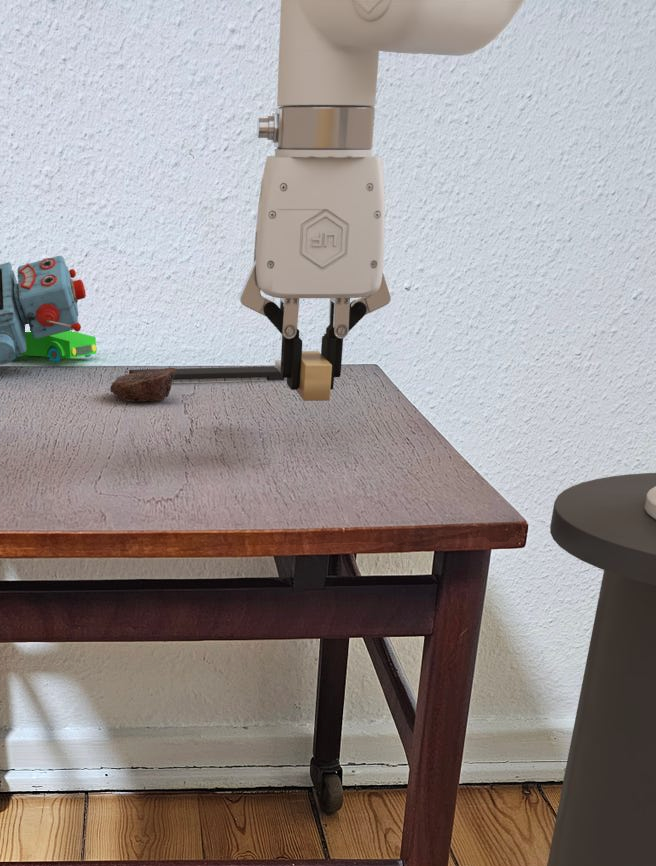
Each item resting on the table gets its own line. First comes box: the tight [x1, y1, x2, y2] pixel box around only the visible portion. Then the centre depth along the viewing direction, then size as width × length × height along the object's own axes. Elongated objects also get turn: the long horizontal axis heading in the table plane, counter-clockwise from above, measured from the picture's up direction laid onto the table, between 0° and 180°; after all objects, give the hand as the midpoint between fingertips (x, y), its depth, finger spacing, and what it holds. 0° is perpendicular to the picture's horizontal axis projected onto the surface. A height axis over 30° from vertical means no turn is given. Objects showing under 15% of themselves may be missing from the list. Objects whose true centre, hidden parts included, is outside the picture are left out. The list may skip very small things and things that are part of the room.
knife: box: [274, 350, 332, 402], centre depth 105 cm, size 17×3×3 cm, turn 3°
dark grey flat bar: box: [128, 365, 285, 385], centre depth 138 cm, size 18×1×5 cm
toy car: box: [13, 330, 98, 363], centre depth 147 cm, size 11×7×7 cm, turn 58°
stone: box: [109, 367, 177, 402], centre depth 126 cm, size 7×7×3 cm
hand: (309, 385), depth 101 cm, fingers closed on knife, 2 cm apart
